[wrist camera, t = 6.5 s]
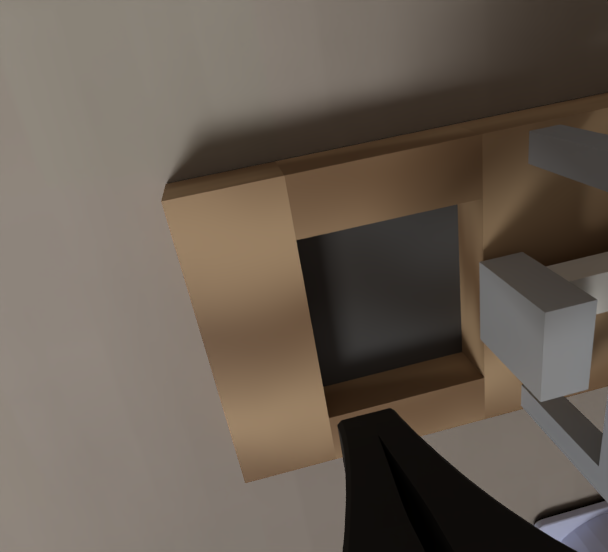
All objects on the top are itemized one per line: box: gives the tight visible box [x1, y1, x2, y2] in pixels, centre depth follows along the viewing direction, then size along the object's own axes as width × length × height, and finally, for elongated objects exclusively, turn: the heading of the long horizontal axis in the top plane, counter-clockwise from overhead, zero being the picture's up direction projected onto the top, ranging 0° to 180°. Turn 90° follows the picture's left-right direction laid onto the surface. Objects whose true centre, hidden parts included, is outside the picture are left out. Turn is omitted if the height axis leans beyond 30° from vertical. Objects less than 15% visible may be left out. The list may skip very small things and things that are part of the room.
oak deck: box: [161, 93, 608, 483], centre depth 19 cm, size 11×28×2 cm, turn 99°
